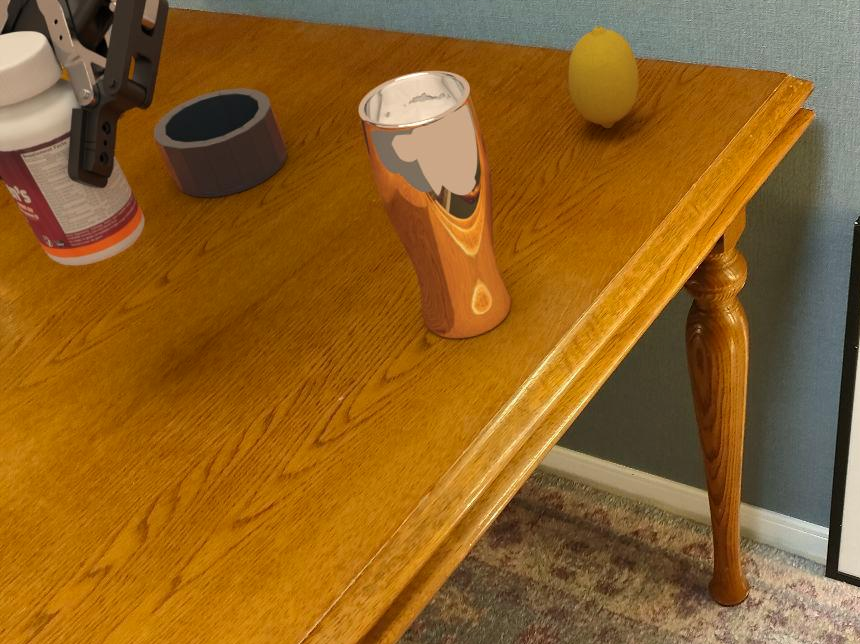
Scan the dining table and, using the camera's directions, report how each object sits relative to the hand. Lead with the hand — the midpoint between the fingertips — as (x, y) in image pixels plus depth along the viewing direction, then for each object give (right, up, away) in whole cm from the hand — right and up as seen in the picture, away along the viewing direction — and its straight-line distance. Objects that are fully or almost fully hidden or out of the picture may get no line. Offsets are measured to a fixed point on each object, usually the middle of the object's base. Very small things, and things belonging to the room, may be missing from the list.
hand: (40, 179), depth 56 cm
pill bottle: (+1, -2, +5) cm, 5 cm away
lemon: (+34, +14, +26) cm, 45 cm away
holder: (+1, +13, +32) cm, 34 cm away
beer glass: (+23, -5, +13) cm, 27 cm away
